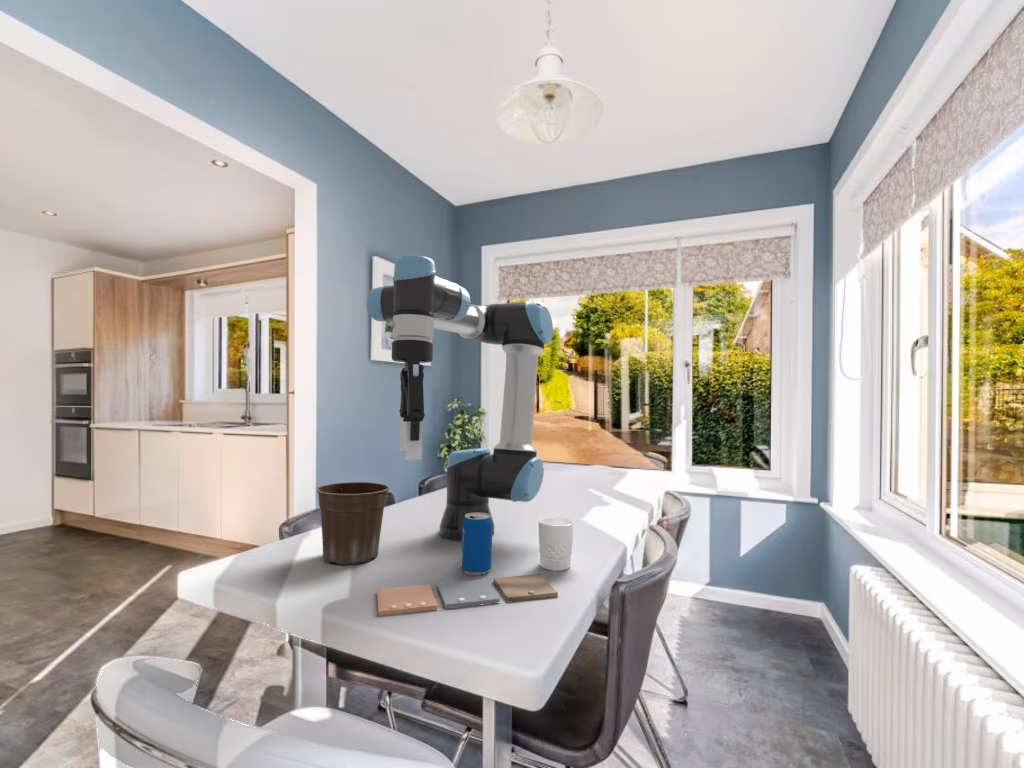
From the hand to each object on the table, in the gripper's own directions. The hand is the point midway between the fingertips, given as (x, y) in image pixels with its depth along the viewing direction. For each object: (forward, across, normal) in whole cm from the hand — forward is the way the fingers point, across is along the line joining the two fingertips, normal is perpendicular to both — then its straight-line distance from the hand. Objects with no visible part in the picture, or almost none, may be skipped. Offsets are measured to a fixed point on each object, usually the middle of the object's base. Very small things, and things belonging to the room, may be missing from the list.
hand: (409, 455), depth 90 cm
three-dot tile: (+27, 0, 0) cm, 27 cm away
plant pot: (+27, -28, -10) cm, 40 cm away
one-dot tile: (+27, 0, +23) cm, 35 cm away
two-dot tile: (+27, 0, +12) cm, 29 cm away
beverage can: (+27, -12, +16) cm, 34 cm away
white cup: (+27, -11, +34) cm, 45 cm away
